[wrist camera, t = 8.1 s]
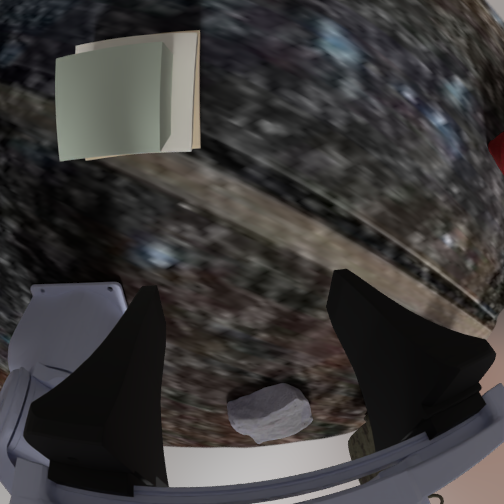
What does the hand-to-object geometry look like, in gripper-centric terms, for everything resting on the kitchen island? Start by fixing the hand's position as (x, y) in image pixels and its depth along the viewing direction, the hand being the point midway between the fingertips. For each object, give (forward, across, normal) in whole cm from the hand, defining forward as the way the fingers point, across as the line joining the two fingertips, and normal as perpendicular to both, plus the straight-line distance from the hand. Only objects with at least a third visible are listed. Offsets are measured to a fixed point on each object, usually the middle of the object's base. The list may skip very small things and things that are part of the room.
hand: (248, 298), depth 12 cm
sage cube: (+5, +5, -8) cm, 11 cm away
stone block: (+11, -5, +30) cm, 32 cm away
